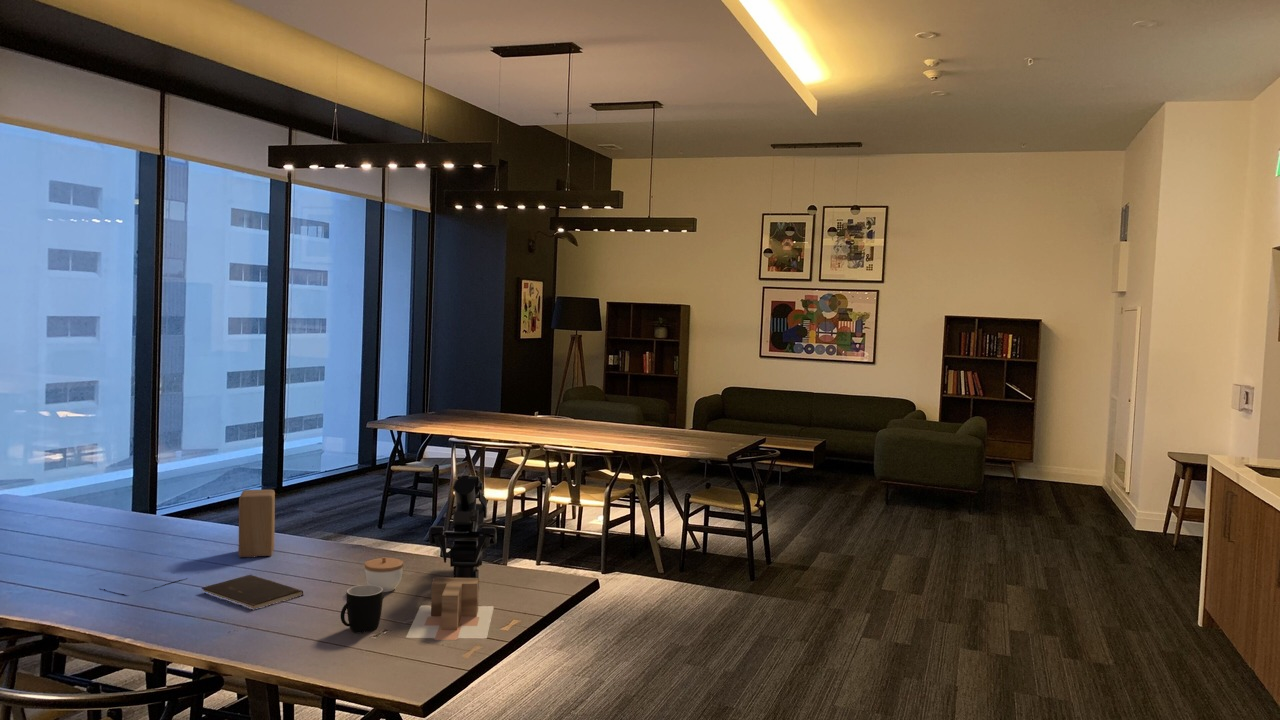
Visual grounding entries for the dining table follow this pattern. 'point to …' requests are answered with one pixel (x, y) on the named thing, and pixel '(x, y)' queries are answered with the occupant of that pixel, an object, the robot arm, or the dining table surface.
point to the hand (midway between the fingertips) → (460, 562)
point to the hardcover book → (253, 591)
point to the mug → (363, 608)
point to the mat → (467, 628)
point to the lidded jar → (384, 572)
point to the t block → (454, 600)
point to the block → (256, 523)
